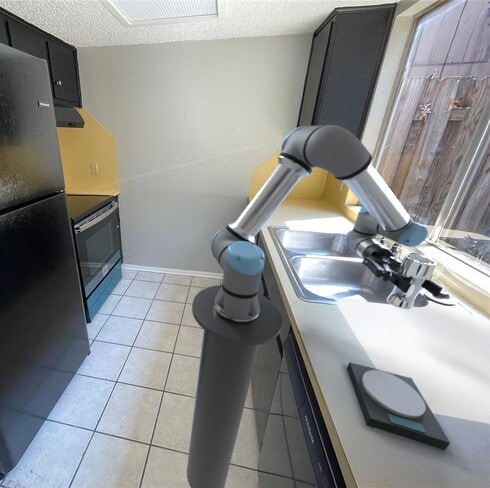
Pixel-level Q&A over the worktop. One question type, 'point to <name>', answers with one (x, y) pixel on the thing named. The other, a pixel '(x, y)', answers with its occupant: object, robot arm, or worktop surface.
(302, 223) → the worktop surface
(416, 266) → the beer glass
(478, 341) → the worktop surface
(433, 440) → the scale
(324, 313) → the worktop surface
